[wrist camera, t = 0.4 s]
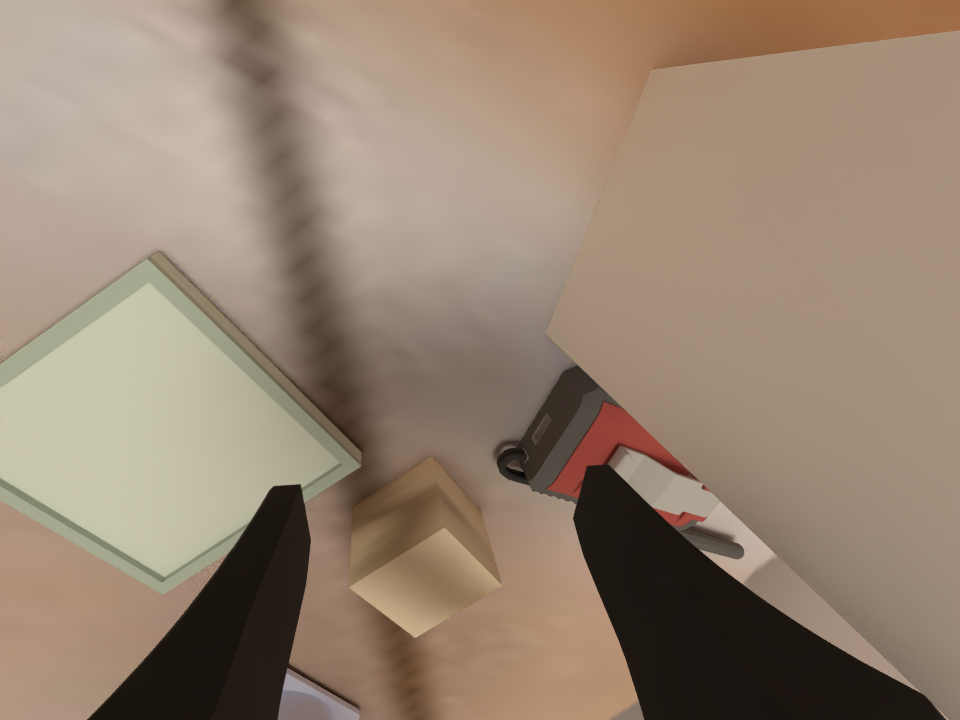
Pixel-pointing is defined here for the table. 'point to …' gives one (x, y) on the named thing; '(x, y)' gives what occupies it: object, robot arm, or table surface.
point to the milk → (800, 318)
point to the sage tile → (155, 429)
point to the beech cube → (420, 549)
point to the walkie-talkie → (609, 458)
